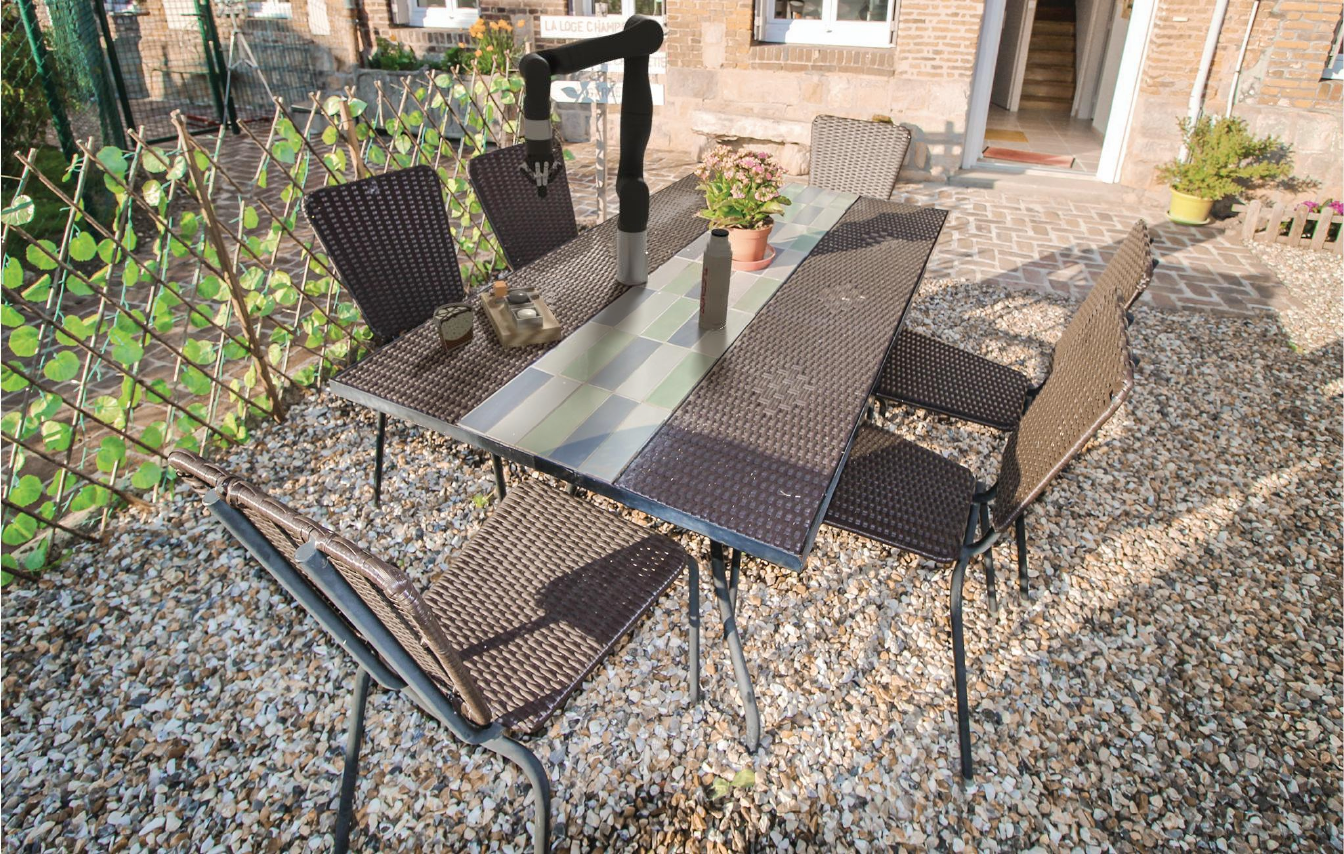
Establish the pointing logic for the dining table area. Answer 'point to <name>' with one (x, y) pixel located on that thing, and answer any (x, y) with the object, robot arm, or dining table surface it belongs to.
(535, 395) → the dining table surface
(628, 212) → the robot arm
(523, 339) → the board
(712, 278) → the thermos bottle
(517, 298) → the charcoal button
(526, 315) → the cream button
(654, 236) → the dining table surface
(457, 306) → the food container
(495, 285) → the slider knob
